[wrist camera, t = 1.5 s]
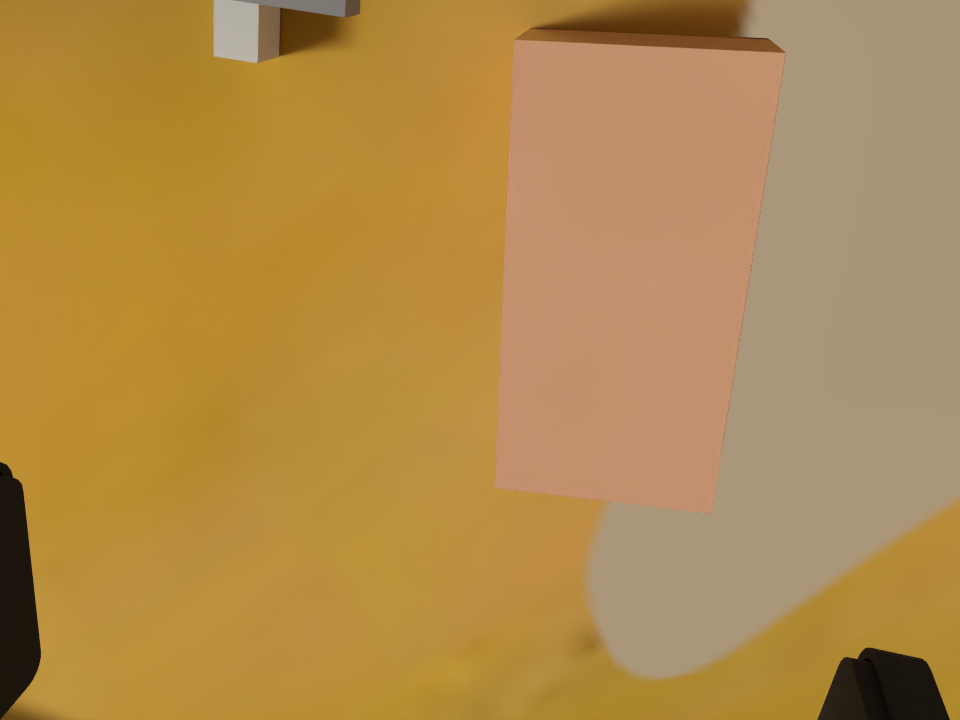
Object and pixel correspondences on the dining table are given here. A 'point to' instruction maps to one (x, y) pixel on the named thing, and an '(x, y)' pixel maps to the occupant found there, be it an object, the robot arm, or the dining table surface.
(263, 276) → the dining table surface
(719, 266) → the slab
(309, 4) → the grey block with tab
